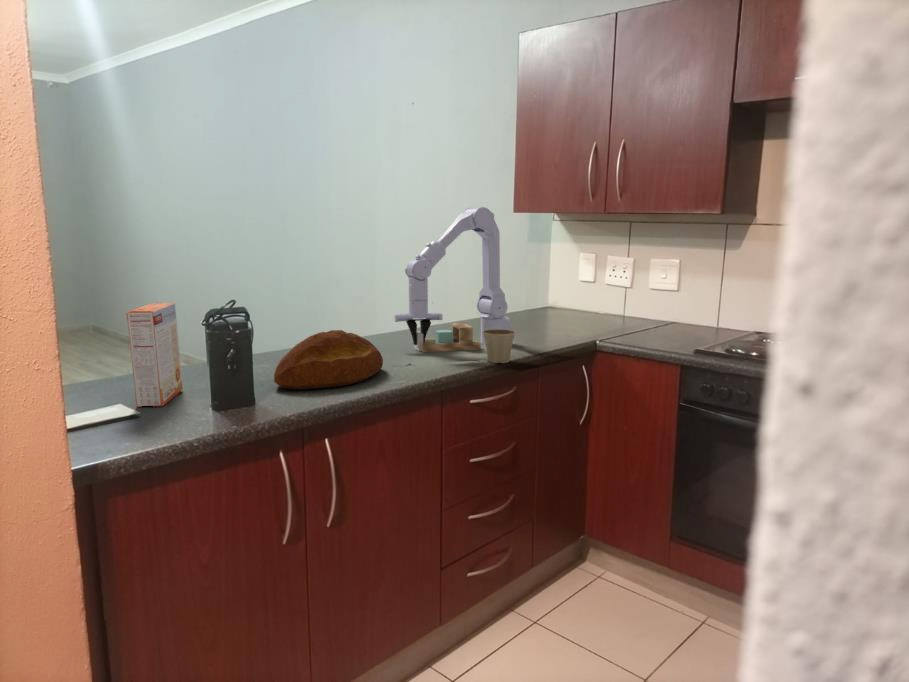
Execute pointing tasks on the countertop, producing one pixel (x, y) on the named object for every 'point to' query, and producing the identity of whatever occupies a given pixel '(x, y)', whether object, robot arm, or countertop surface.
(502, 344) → the flower pot
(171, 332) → the cracker box
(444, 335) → the block
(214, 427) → the countertop surface
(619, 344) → the countertop surface
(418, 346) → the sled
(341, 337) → the bread
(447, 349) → the wooden frame
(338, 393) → the countertop surface
